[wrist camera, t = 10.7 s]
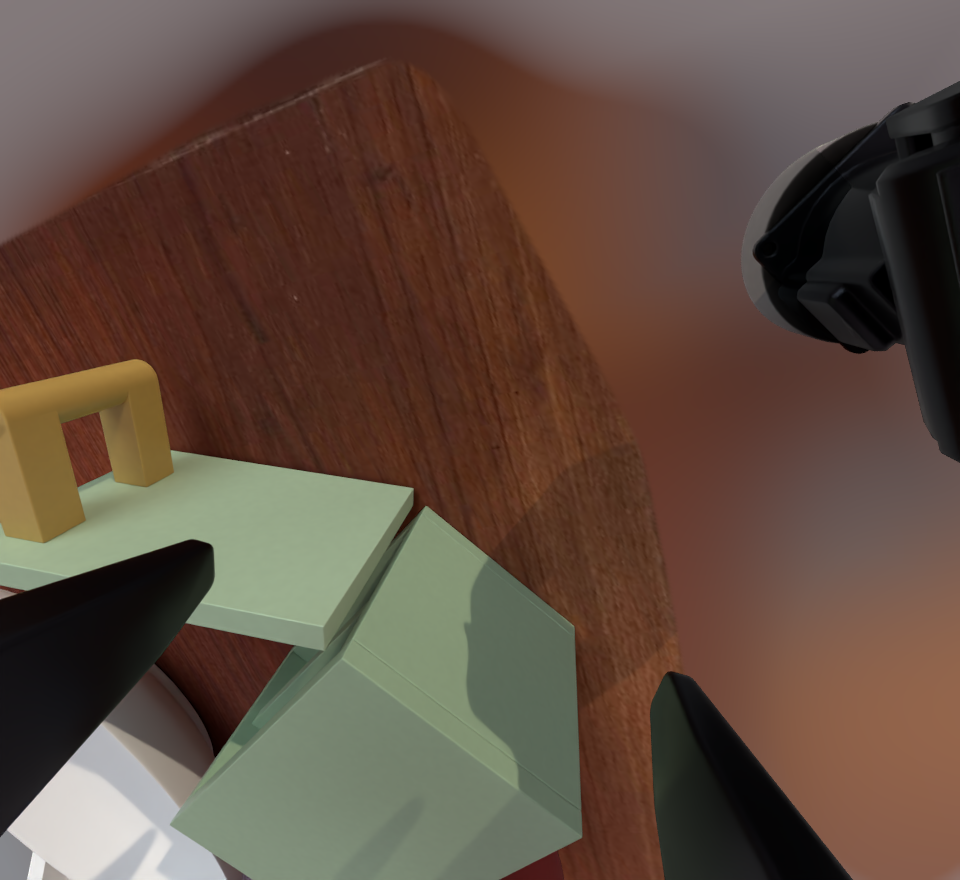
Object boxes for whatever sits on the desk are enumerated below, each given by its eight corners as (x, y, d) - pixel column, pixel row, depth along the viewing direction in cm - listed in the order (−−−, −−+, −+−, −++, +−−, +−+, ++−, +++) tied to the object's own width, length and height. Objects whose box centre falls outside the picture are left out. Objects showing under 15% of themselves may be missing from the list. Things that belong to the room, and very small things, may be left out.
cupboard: (292, 646, 28) (168, 825, 19) (426, 505, 23) (341, 658, 14) (420, 741, 29) (359, 951, 20) (574, 626, 24) (583, 838, 15)
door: (142, 346, 22) (-123, 399, 14) (418, 381, 21) (315, 466, 12) (163, 465, 24) (-51, 575, 16) (413, 505, 23) (325, 652, 14)
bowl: (-74, 558, 30) (-218, 626, 25) (66, 478, 26) (-70, 537, 20) (200, 849, 38) (138, 950, 32) (346, 825, 34) (302, 938, 28)
